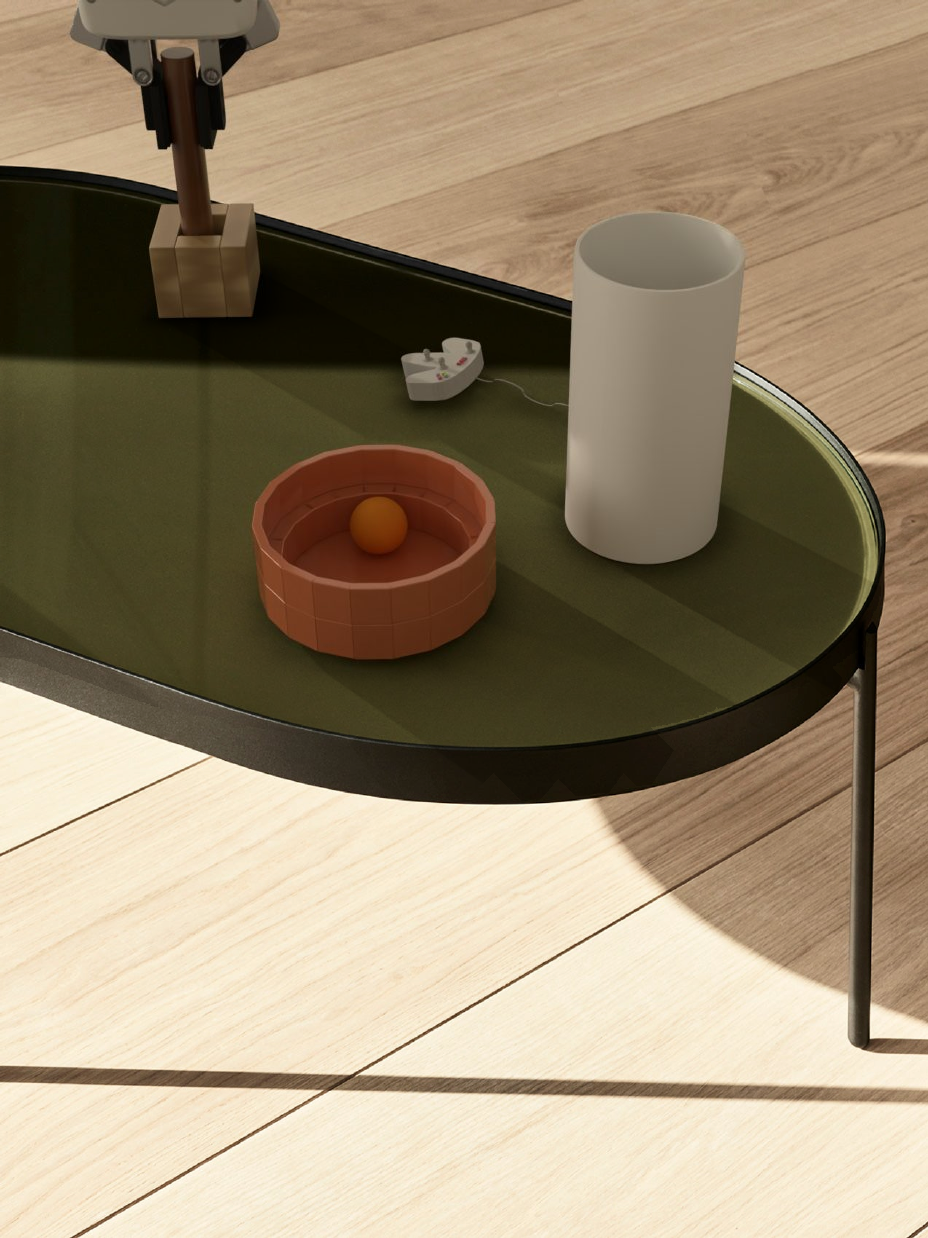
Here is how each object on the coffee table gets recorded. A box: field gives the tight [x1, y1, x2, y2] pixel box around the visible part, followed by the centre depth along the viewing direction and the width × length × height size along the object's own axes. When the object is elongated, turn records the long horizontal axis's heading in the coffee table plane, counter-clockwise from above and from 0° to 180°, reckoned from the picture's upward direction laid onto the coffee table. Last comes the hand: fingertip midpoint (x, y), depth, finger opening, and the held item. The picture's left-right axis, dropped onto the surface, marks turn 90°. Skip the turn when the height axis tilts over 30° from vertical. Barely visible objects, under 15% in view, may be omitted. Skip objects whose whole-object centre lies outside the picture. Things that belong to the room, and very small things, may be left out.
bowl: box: [251, 444, 497, 660], centre depth 85 cm, size 12×12×5 cm
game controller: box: [400, 337, 569, 408], centre depth 100 cm, size 6×12×3 cm, turn 81°
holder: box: [148, 202, 261, 319], centre depth 108 cm, size 6×6×5 cm
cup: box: [564, 210, 746, 565], centre depth 86 cm, size 8×8×16 cm
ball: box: [350, 497, 408, 554], centre depth 87 cm, size 3×3×3 cm
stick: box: [159, 46, 214, 236], centre depth 104 cm, size 2×2×16 cm
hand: (188, 137), depth 103 cm, fingers closed on stick, 2 cm apart
